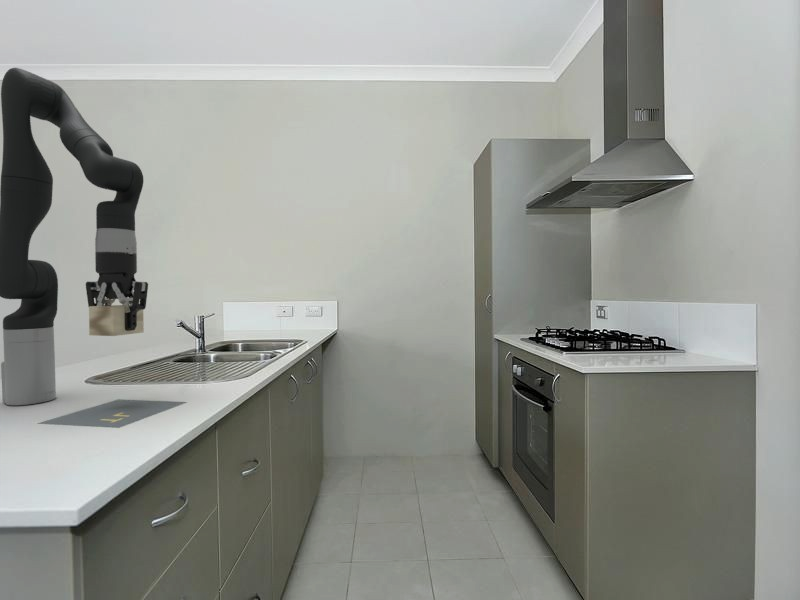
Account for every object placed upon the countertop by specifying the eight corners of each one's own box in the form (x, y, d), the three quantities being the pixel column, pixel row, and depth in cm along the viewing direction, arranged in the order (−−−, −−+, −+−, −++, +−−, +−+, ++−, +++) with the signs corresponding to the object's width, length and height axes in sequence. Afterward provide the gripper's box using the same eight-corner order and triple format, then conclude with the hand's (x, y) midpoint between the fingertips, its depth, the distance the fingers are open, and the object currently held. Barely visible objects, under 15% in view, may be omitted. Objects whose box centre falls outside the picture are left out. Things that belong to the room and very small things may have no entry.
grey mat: (37, 425, 86) (37, 423, 86) (118, 401, 105) (118, 399, 105) (118, 430, 82) (118, 427, 82) (187, 404, 101) (187, 401, 101)
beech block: (89, 335, 95) (88, 306, 94) (120, 331, 102) (120, 305, 102) (113, 336, 93) (113, 306, 93) (143, 332, 101) (143, 305, 101)
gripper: (72, 250, 95) (73, 330, 96) (130, 249, 92) (131, 332, 93) (103, 253, 103) (104, 327, 103) (158, 252, 99) (158, 329, 100)
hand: (117, 329), depth 98 cm, fingers closed on beech block, 6 cm apart
